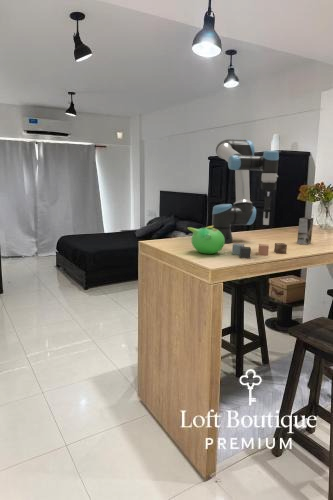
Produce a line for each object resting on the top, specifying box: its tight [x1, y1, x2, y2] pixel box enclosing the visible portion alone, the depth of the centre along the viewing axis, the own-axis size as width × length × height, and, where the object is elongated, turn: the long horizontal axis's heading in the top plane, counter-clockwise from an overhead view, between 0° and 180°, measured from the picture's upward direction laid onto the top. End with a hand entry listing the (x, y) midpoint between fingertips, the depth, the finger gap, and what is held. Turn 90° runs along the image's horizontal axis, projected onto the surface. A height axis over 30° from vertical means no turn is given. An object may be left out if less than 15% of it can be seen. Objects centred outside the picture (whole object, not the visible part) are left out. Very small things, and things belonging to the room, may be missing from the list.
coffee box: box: [296, 217, 315, 246], centre depth 217 cm, size 9×6×16 cm
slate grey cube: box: [231, 243, 245, 256], centre depth 184 cm, size 5×5×5 cm
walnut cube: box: [273, 242, 288, 255], centre depth 189 cm, size 5×5×5 cm
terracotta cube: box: [257, 243, 270, 256], centre depth 185 cm, size 5×5×5 cm
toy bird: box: [186, 225, 226, 255], centre depth 183 cm, size 18×17×15 cm
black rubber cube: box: [239, 246, 252, 259], centre depth 177 cm, size 5×5×5 cm
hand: (265, 223), depth 182 cm, fingers open, 13 cm apart
